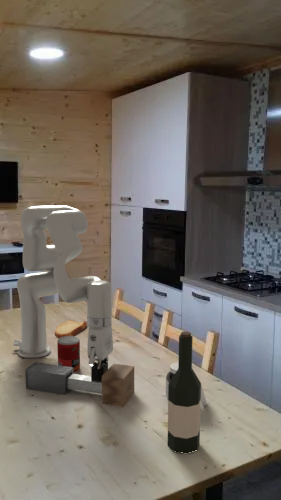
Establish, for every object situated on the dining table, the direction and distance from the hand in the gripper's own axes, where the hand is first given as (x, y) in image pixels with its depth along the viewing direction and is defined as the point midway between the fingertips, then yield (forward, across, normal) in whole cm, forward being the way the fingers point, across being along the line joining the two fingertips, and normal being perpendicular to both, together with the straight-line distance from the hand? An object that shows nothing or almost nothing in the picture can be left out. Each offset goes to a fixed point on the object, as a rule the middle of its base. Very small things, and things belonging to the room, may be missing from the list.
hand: (99, 376), depth 148 cm
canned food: (+7, +16, +19) cm, 26 cm away
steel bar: (+5, 0, +5) cm, 7 cm away
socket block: (+6, 0, -6) cm, 9 cm away
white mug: (+7, +4, -27) cm, 28 cm away
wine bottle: (+7, -19, -31) cm, 37 cm away
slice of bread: (+7, +55, +37) cm, 66 cm away
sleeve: (+6, 0, +18) cm, 19 cm away
